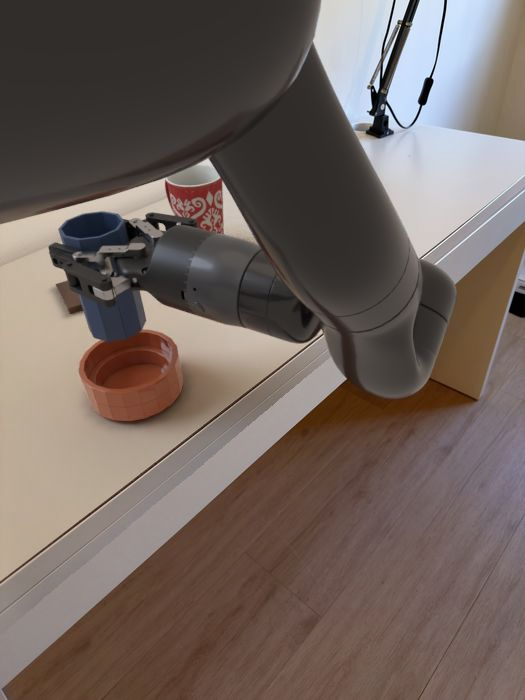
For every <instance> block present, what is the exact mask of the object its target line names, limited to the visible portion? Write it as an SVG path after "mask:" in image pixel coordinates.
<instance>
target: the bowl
mask: <svg viewBox="0 0 525 700" xmlns="http://www.w3.org/2000/svg"><path fill="white" fill-rule="evenodd" d="M78 375H79V378H80V380H81V383H82V386H83V389H84V391H85V394H86V397H87V400H88V402H89V404H90V407H91V409H92V410H93V411H95V412H96V413H97V414H99V416H101V417H103V418H106V419H109V420H112V421H119V422H133V421H138V420H145V419H147V418H149V417H152V416H154V415H157V414H159V413H161V412H162V411H164V410H166V409H167V408H169V407H170V406H171V405H173V403H174V402H175V401H176V400H177V398H178V397H179V396H180V395H181V392H182V390H183V388H184V384H185V383H184V382H185V381H184V374H183V370H182V364H181V359H180V353H179V349H178V345H177V344H176V342H175V341H174V340H173V338H172V337H170V336H168V335H166V334H165V333H163V332H160V331H157V330H152V329H144V328H143V329H142V330H141V331H140V332H138V333H137V334H135V335H133V336H132V337H130V338H128V339H125V340H118V341H112V342H107V341H103V340H98V341H97V342H95V343H93V344H92V345H91V346H90V347H89V348H88V349H87V350H86V351H85V352H84V354H83V355H82V357H81V359H80V361H79V366H78Z"/></svg>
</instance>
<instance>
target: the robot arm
mask: <svg viewBox="0 0 525 700" xmlns="http://www.w3.org/2000/svg"><path fill="white" fill-rule="evenodd" d="M322 1H323V0H0V225H4V224H8V223H12V222H15V221H20V220H24V219H27V218H31V217H35V216H39V215H43V214H47V213H50V212H54V211H59V210H62V209H66V208H70V207H74V206H78V205H80V204H85V203H88V202H92V201H96V200H99V199H104V198H108V197H110V196H113V195H118V194H121V193H123V192H127V191H129V190H132V189H135V188H139V187H141V186H145V185H148V184H150V183H155V182H158V181H161V180H163V179H165V178H166V177H168V176H171V175H173V174H176V173H178V172H181V171H183V170H185V169H188V168H190V167H192V166H195V165H197V164H202V163H203V162H204V161H207V160H209V162H210V164H211V165H212V166H213V167H214V168H215V170H216V171H217V173H218V175H219V176H220V178H221V179H222V183H223V184H224V186H225V188H226V189H227V191H228V193H229V194H230V196H231V198H232V199H233V201H234V203H235V206H236V208H237V209H238V210H239V212H240V214H241V216H242V217H243V218H242V219H244V222H245V223H246V224H247V226H248V229H249V231H250V232H251V234H252V237H253V238H254V239H255V241H256V242H254V241H250V240H248V239H244V238H241V237H236V236H233V235H229V234H225V233H224V234H220V233H216V232H212V231H207V230H203V229H199V228H198V221H197V219H192V218H186V217H180V216H174V214H173V215H172V214H166V213H161V212H154V211H152V212H148V213H146V214H144V215H145V218H144V219H141V218H140V217H133V218H130V219H126V218H122V219H123V220H124V222H125V226H126V231H127V235H128V240H129V243H128V244H126V245H124V246H101V247H100V248H99V250H98V251H81V250H80V249H77V248H74V247H70V246H66V245H63V243H60V242H53V243H51V244H49V245H48V247H47V248H48V254H49V257H50V260H51V263H52V266H53V267H54V268H57V269H60V270H63V271H64V274H65V276H66V281H67V280H68V283H69V284H68V285H69V288H70V290H71V291H73V292H76V293H78V294H80V295H82V296H84V297H86V298H88V299H90V300H92V301H94V302H96V303H98V304H100V305H102V306H105V307H113V306H115V305H116V304H117V299H116V295H118V294H120V293H121V292H123V291H125V290H126V289H129V290H132V291H140V292H147V293H148V294H149V295H150V296H152V297H153V299H155V300H156V301H157V302H158V303H159V304H161V305H164V306H165V307H168V308H172V309H175V310H178V311H181V312H184V313H186V314H187V313H188V314H191V315H194V316H197V317H200V318H203V319H207V320H209V321H213V322H215V323H219V324H221V325H225V326H231V327H238V328H243V329H245V330H246V329H247V330H250V331H253V332H256V333H260V334H261V335H266V336H269V337H272V338H275V339H278V340H281V341H284V342H287V343H292V344H297V345H302V344H306V343H309V342H311V341H312V340H314V339H315V338H316V337H317V336H318V334H319V333H320V332H321V331H322V334H323V337H324V341H325V344H326V346H327V349H328V353H329V355H330V357H331V359H332V361H333V363H334V365H335V366H336V368H337V369H338V370H339V372H340V374H342V376H344V377H345V379H346V380H348V382H350V383H351V384H352V385H353V386H355V388H357V389H359V390H361V391H362V392H365V393H366V394H368V395H371V396H374V397H375V398H376V397H377V398H380V399H385V400H399V399H404V398H405V399H406V398H408V397H411V396H413V395H415V394H416V393H418V392H420V391H421V389H423V387H425V385H426V384H427V383H428V381H429V379H430V377H431V375H432V373H433V370H434V367H435V364H436V362H437V359H438V356H439V353H440V350H441V347H442V344H443V342H444V339H445V336H446V332H447V330H448V326H449V325H450V323H451V320H452V316H453V314H454V312H455V308H456V305H457V300H458V291H457V290H458V289H457V287H456V284H455V282H454V281H453V279H452V277H451V276H450V275H449V273H447V272H446V271H445V270H444V269H443V268H441V267H440V266H438V265H437V264H435V263H433V262H432V261H428V260H425V259H423V258H419V256H418V254H417V252H416V250H415V247H414V245H413V243H412V240H411V238H410V236H409V234H408V231H407V230H406V228H405V225H404V224H403V221H402V219H401V217H400V215H399V214H398V211H397V210H396V208H395V206H394V203H393V201H392V200H391V198H390V196H389V194H388V191H387V190H386V188H385V187H384V185H383V183H382V181H381V179H380V177H379V175H378V173H377V171H376V170H375V167H374V166H373V164H372V162H371V160H370V158H369V156H368V154H367V153H366V151H365V148H364V146H363V144H362V143H361V141H360V139H359V137H358V135H357V133H356V131H355V129H354V127H353V125H352V124H351V121H350V120H349V117H348V116H347V114H346V112H345V110H344V108H343V106H342V104H341V101H340V99H339V97H338V95H337V94H336V93H337V92H336V91H335V89H334V87H333V85H332V83H331V79H330V78H329V76H328V73H327V71H326V69H325V67H324V66H325V65H324V64H323V62H322V60H321V57H320V55H319V52H318V50H317V47H316V44H315V42H314V39H315V37H316V31H317V27H318V23H319V18H320V13H321V9H322ZM160 224H162V225H164V228H165V230H161V229H160ZM109 257H114V261H115V265H116V269H117V271H118V273H116V272H114V271H113V269H112V265H111V261H110V258H109ZM89 262H97V263H98V265H99V269H91V268H90V265H89Z"/></svg>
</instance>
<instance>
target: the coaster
mask: <svg viewBox="0 0 525 700" xmlns="http://www.w3.org/2000/svg"><path fill="white" fill-rule="evenodd" d="M68 284H69V283H68V280H67V279H66V280H64V281H60V282H58V283H55V288H56V290H57V293H58V294H59V296H60V298H61V300H62V302H63V304H64V307H66V310H67V312H68V313H69V314H70V315H71V314H74V313H77V312H80V311H83V308H82V304H81V301H80V298H79V295H78V293H76V292H73V291H71V290H70V288H69V285H68Z"/></svg>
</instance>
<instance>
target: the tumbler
mask: <svg viewBox="0 0 525 700" xmlns="http://www.w3.org/2000/svg"><path fill="white" fill-rule="evenodd" d="M123 219H124V218H123V217H121V214H119V213H116V212H110V211H103V210H102V211H92V212H85V213H81V214H79V215H76V216H73V217H71V218H68V219H66V220H65V221H64V222H63V223H62V224H61V225H60V226H59V228H58V233H59V236H60V240H61V244H63V245H66V246H70V247H74V248H77V249H80V250H81V251H98V250H99V248H100V247H101V246H124V245H126V244H128V243H129V240H128V235H127V231H126V226H125V222H124V220H123ZM109 258H110V261H111V265H112V269H113V271H114V272H116V273H118V271H117V269H116V265H115V261H114V257H109ZM89 265H90V268H91V269H99V265H98V263H97V262H89ZM78 295H79V298H80V301H81V304H82V308H83V310H82V311H83V314H84V318H85V319H86V324H87V328H88V330H89V332H90V334H91V335H92V337H93V338H94V339H95V340H98V341H100V340H103V341H107V342H112V341H118V340H125V339H128V338H130V337H132V336H133V335H135V334H137V333H138V332H140V331H141V330H142V329H144V326H145V324H146V322H147V316H146V313H145V308H144V304H143V299H142V295H141V291H132V290H129V289H126V290H125V291H123V292H121V293H120V294H118V295H116V299H117V304H116V305H115V306H113V307H105V306H102V305H100V304H98V303H96V302H94V301H92V300H90V299H88V298H86V297H84V296H82V295H80V294H78Z"/></svg>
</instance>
